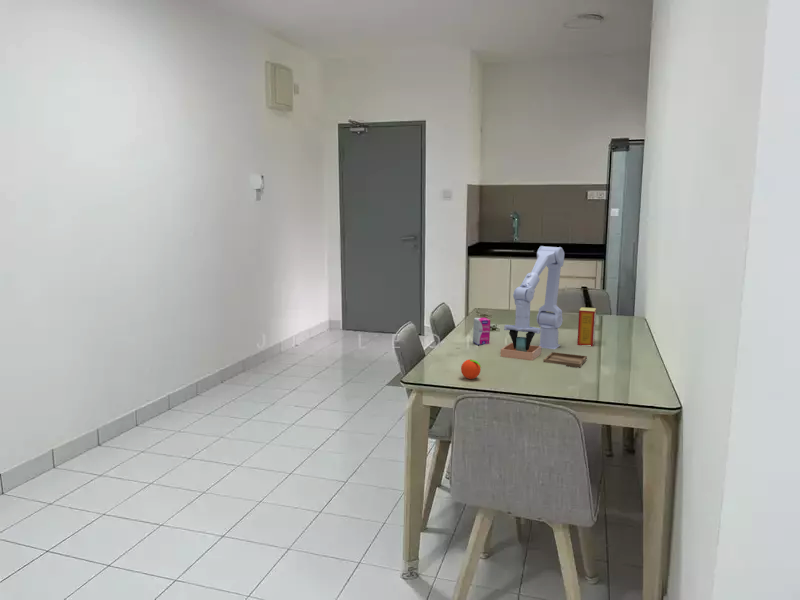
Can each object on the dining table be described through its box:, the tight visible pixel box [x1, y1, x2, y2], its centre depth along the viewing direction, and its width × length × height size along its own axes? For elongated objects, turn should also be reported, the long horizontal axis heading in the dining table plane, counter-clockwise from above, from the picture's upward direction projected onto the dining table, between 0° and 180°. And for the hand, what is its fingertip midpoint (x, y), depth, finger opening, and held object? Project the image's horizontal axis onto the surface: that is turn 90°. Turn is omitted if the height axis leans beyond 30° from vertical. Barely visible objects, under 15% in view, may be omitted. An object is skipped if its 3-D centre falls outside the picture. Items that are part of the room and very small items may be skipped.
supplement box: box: [472, 317, 491, 346], centre depth 271 cm, size 6×6×12 cm
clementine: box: [460, 358, 482, 380], centre depth 216 cm, size 8×7×7 cm
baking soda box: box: [576, 306, 597, 347], centre depth 273 cm, size 10×6×16 cm
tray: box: [542, 351, 588, 368], centre depth 242 cm, size 14×14×2 cm
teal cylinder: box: [516, 336, 527, 352], centre depth 249 cm, size 4×4×6 cm
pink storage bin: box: [500, 342, 542, 361], centre depth 250 cm, size 13×13×4 cm
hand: (521, 348), depth 250 cm, fingers closed on teal cylinder, 4 cm apart
